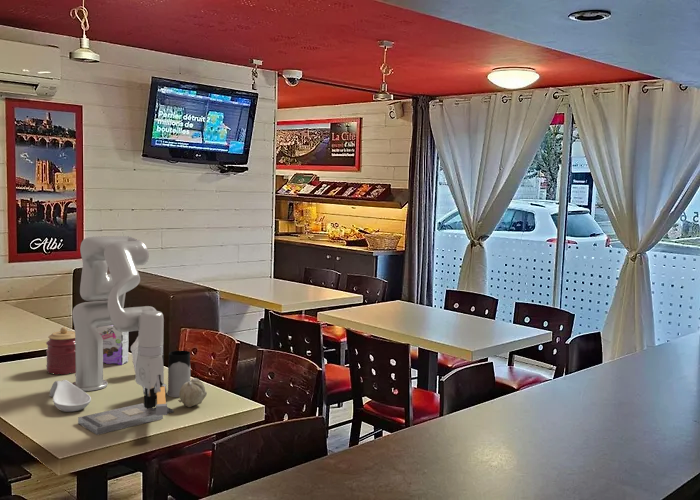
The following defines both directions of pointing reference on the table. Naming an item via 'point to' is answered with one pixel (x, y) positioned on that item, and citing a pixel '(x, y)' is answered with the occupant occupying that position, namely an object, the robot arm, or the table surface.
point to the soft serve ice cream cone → (135, 353)
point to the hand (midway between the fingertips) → (149, 407)
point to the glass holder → (178, 371)
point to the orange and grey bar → (161, 402)
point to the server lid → (118, 418)
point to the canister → (61, 352)
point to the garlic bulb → (192, 393)
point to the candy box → (114, 345)
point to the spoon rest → (68, 396)
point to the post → (168, 410)
